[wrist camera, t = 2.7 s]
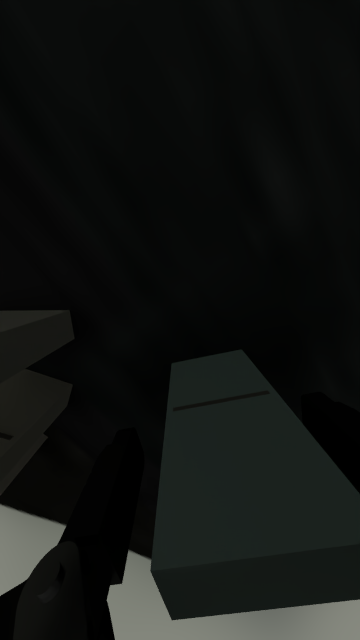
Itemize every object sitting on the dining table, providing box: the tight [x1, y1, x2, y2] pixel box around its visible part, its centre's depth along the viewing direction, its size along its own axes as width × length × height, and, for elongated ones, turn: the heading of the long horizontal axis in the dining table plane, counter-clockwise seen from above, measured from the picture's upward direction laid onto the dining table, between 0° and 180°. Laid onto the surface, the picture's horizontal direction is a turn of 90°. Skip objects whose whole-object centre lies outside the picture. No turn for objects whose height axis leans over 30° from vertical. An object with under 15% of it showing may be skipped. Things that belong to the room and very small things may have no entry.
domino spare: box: [151, 349, 360, 620], centre depth 8 cm, size 2×5×9 cm, turn 102°
